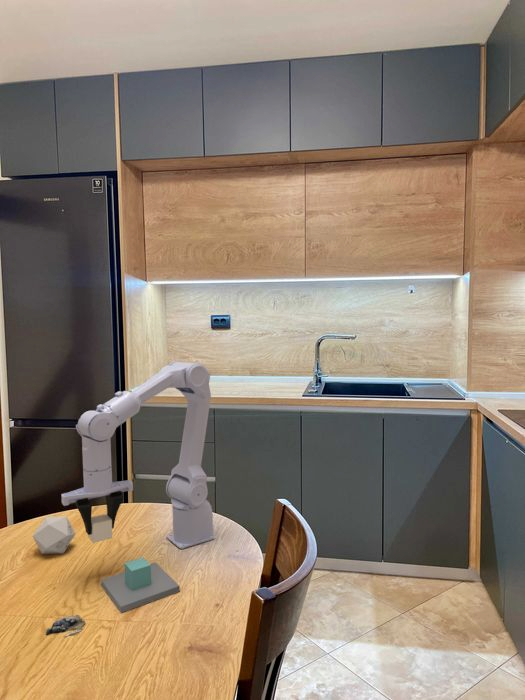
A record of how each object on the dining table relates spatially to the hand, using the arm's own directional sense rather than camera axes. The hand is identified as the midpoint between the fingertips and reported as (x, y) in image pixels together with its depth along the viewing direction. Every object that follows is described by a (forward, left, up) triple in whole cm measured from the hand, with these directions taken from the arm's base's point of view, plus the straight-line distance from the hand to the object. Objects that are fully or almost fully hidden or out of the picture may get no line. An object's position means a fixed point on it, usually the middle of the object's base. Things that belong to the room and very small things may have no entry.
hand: (99, 530), depth 105 cm
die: (+5, -18, -10) cm, 21 cm away
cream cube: (0, 0, -2) cm, 2 cm away
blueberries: (+12, +14, -11) cm, 21 cm away
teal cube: (-4, +10, -9) cm, 14 cm away
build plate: (-5, +10, -10) cm, 15 cm away
